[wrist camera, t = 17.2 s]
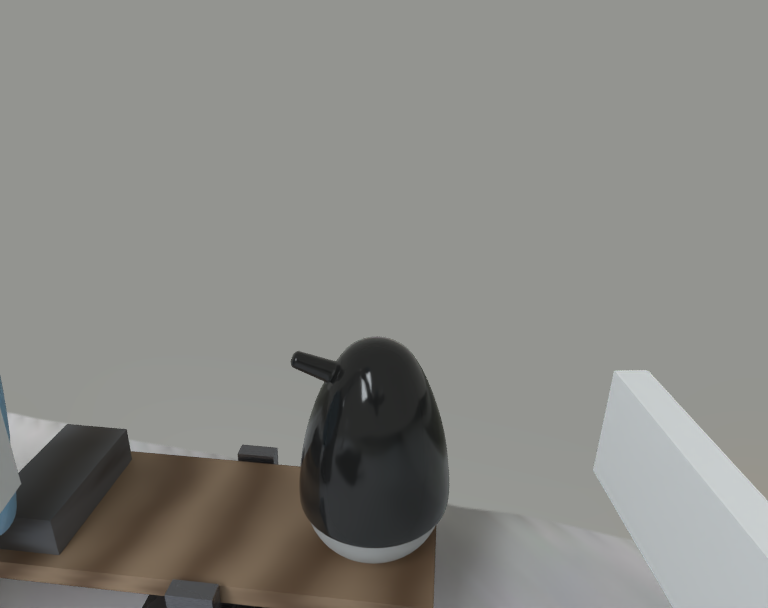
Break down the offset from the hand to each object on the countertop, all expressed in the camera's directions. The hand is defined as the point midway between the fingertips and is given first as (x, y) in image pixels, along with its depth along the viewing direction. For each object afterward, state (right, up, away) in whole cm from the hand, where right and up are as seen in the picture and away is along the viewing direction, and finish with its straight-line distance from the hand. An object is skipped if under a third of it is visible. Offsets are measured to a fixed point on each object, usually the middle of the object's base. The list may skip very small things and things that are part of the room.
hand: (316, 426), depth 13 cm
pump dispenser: (+1, -14, +30) cm, 33 cm away
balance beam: (-10, -14, +31) cm, 36 cm away
